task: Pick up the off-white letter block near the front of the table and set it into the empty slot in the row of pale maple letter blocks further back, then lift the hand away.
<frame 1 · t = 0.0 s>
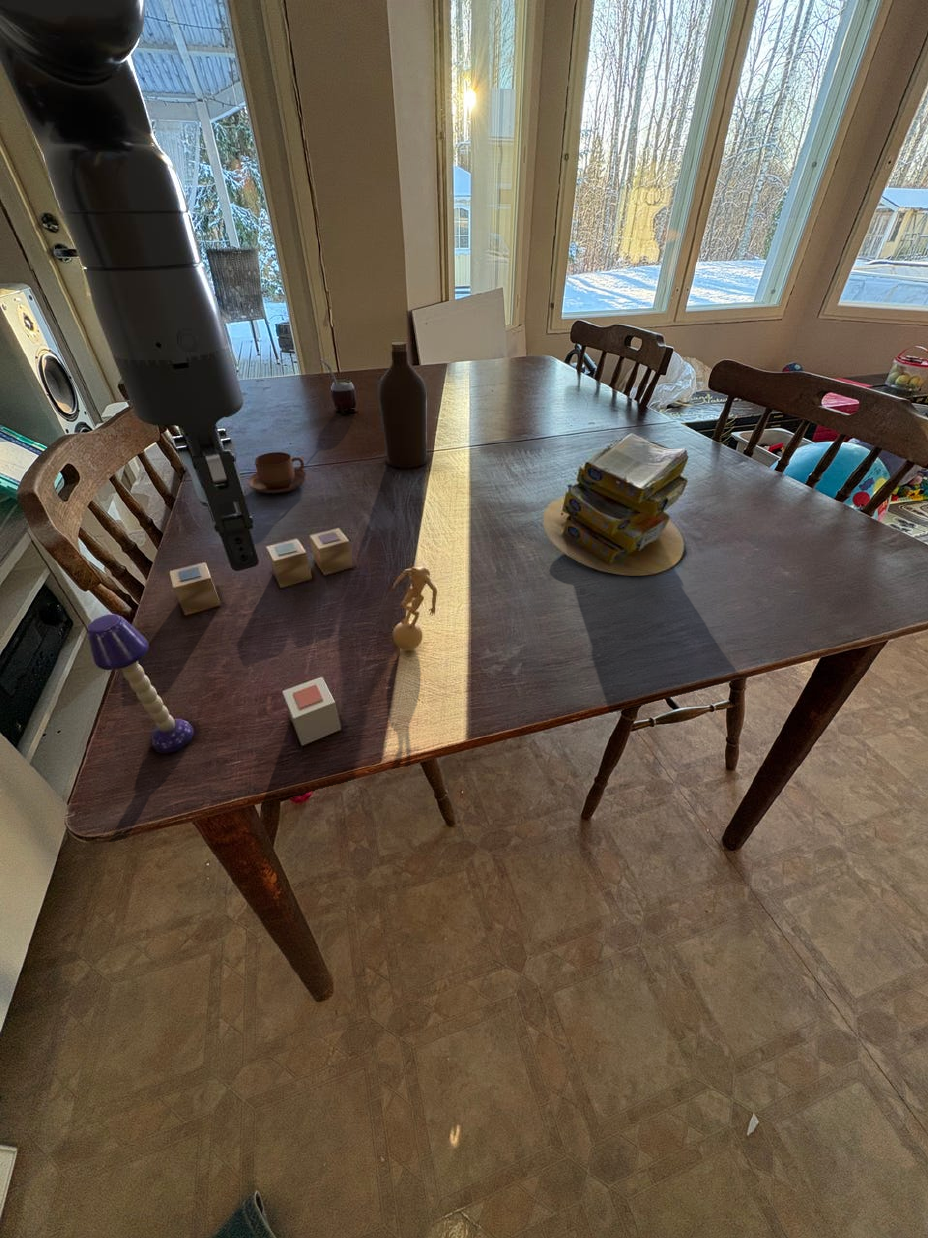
hand: (235, 544, 46), 23 cm above the table, tool pointing down, fingers open, 8 cm apart
mate gourd: (344, 412, 151), on the table
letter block: (315, 723, 59), on the table
toy lamp: (172, 738, 58), on the table
block row: (248, 588, 80), on the table
olive oil: (407, 461, 121), on the table
stacked food boxes: (610, 539, 92), on the table
cup and saucer: (279, 487, 110), on the table
figurine: (414, 644, 70), on the table
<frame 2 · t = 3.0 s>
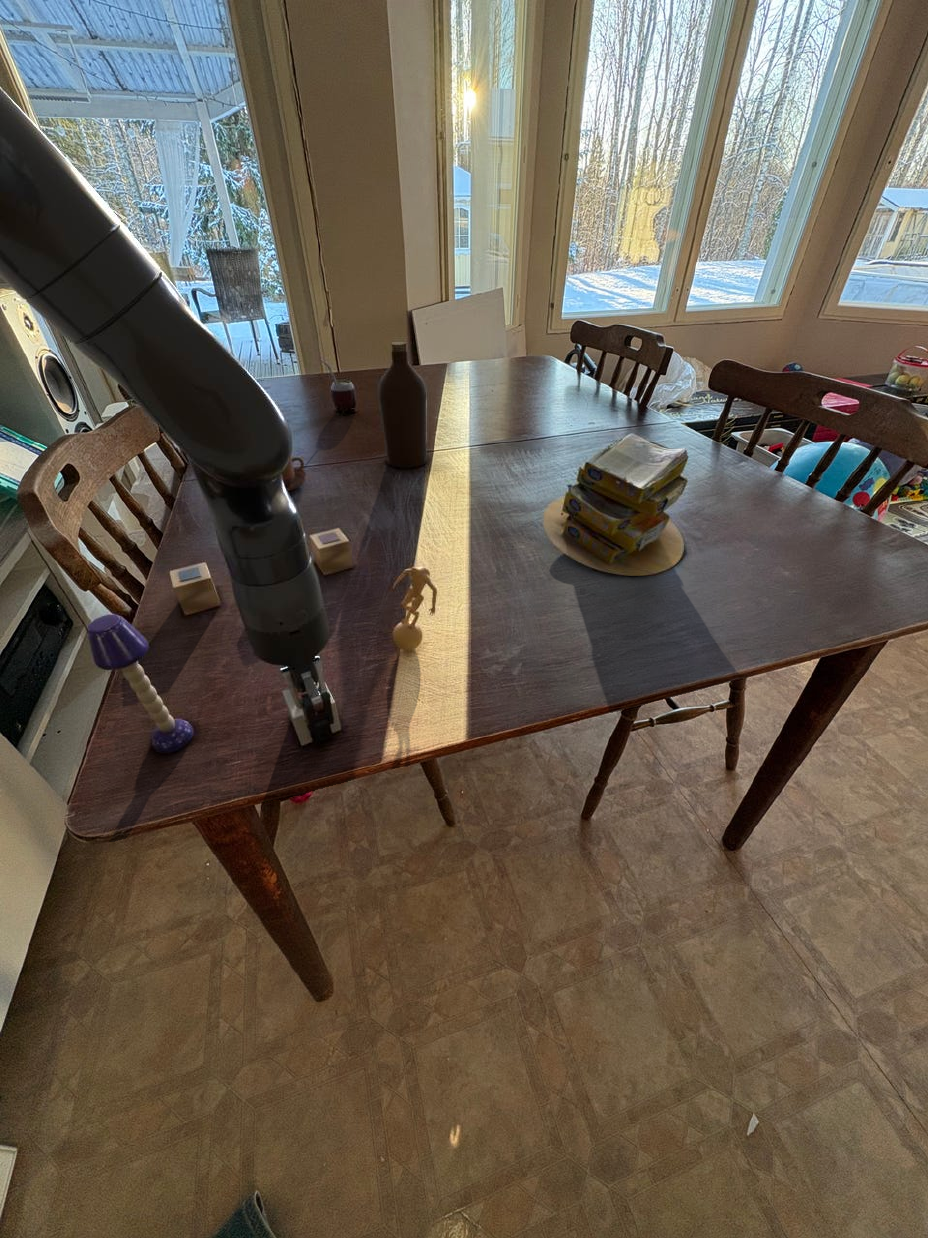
hand: (315, 722, 59), 0 cm above the table, tool pointing down, fingers closed on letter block, 4 cm apart
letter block: (315, 723, 59), on the table, touching gripper
everything else where it was.
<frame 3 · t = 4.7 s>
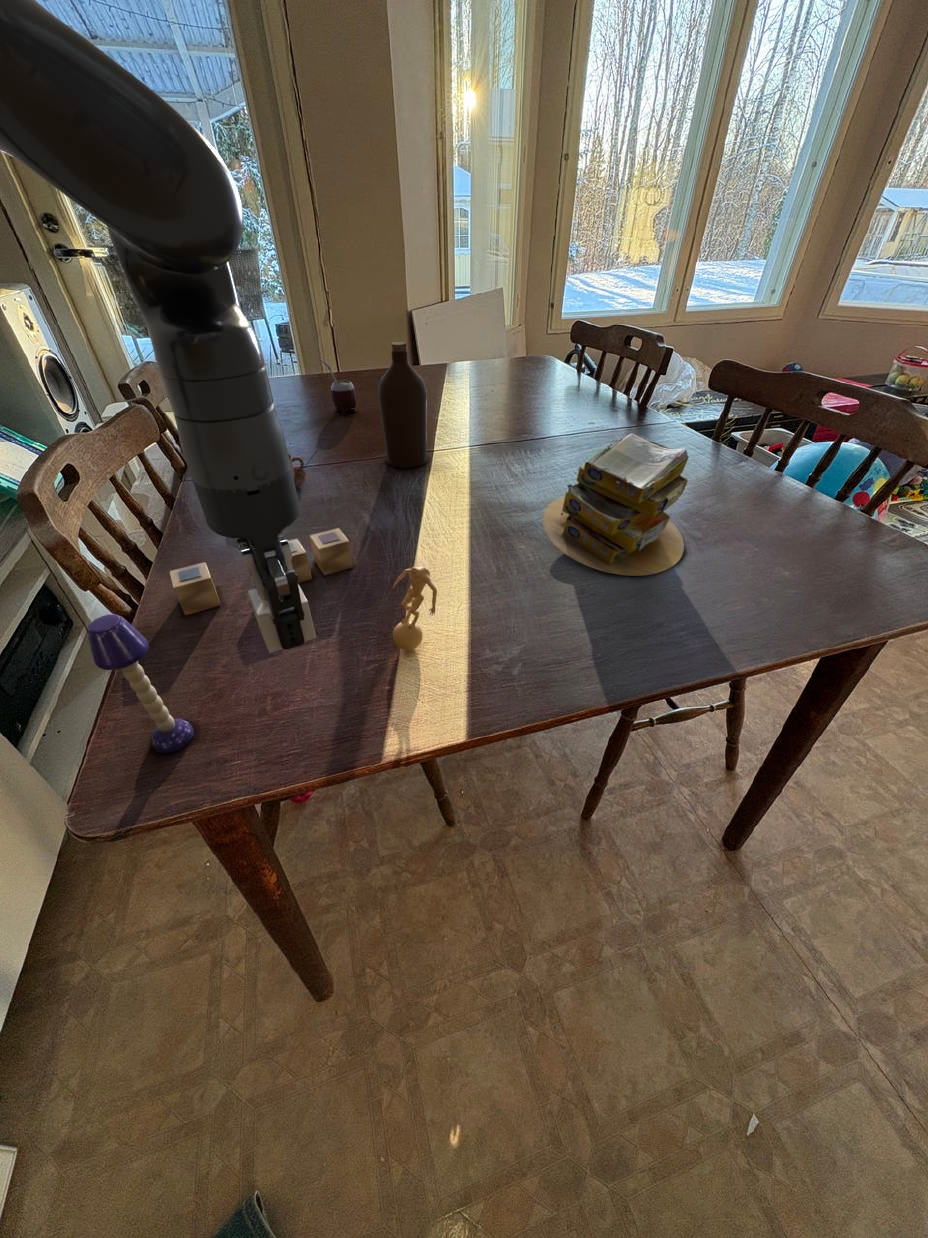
hand: (286, 629, 51), 13 cm above the table, tool pointing down, fingers closed on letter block, 4 cm apart
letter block: (287, 632, 52), point 13 cm above the table, touching gripper
everything else where it was.
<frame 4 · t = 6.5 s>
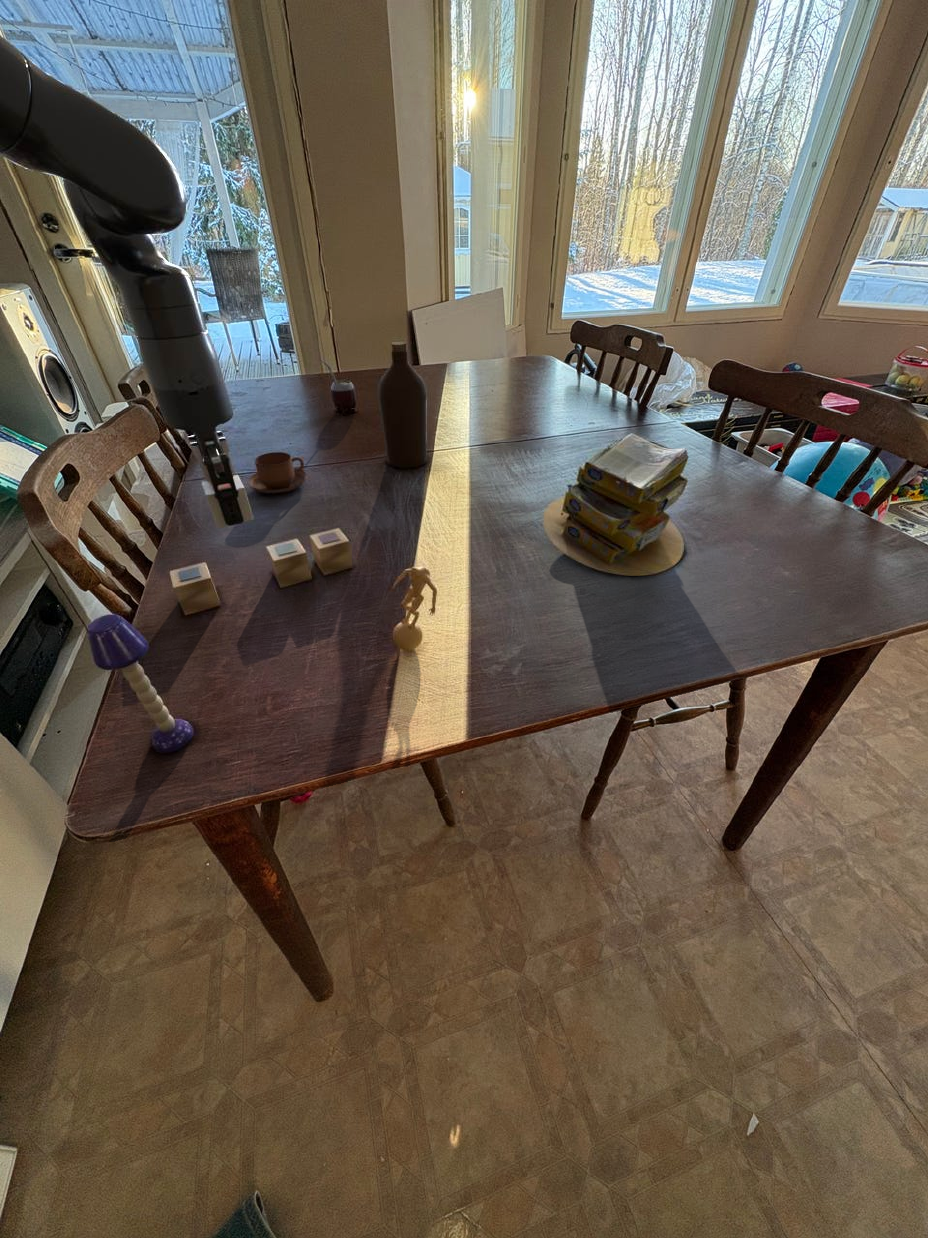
hand: (231, 514, 68), 15 cm above the table, tool pointing down, fingers closed on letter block, 4 cm apart
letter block: (232, 516, 68), point 14 cm above the table, touching gripper
everything else where it was.
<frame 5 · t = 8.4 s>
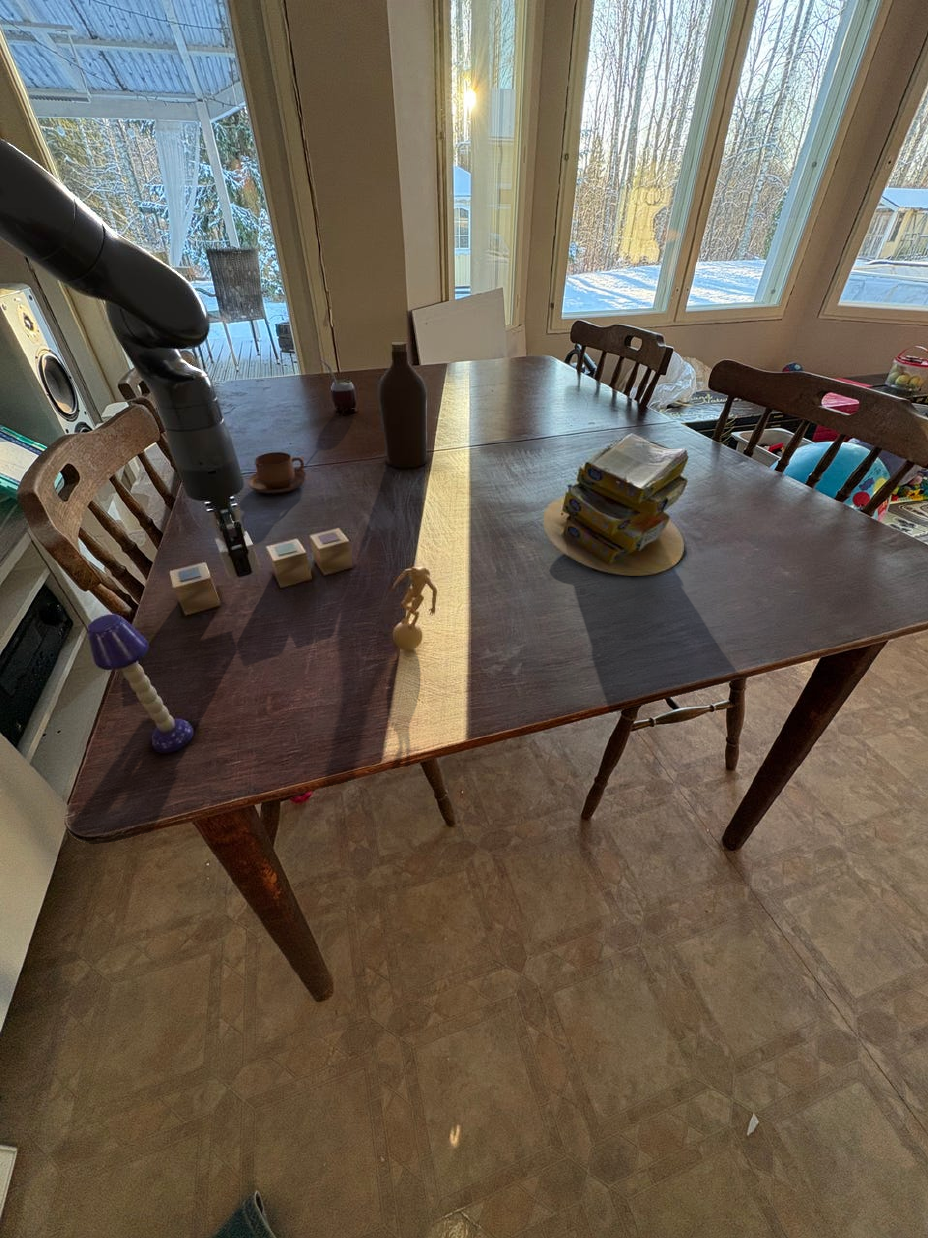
hand: (241, 566, 78), 4 cm above the table, tool pointing down, fingers closed on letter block, 4 cm apart
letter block: (242, 567, 78), point 4 cm above the table, touching gripper
everything else where it was.
when the fingers open (0 cm above the table, at t = 9.9 s): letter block stays where it is, on the table.
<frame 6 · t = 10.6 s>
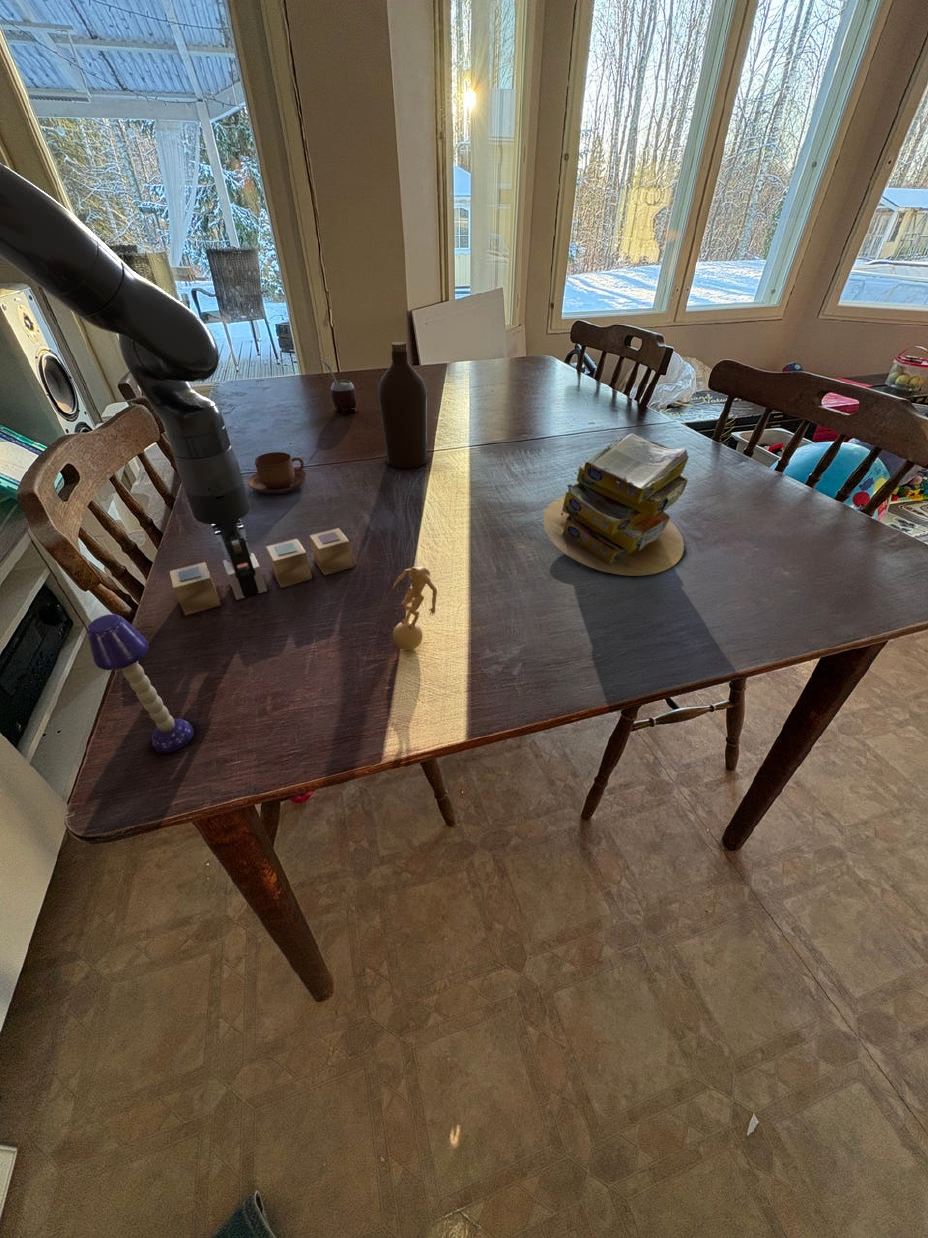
hand: (245, 580, 79), 1 cm above the table, tool pointing down, fingers open, 8 cm apart
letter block: (248, 588, 80), on the table
everything else where it was.
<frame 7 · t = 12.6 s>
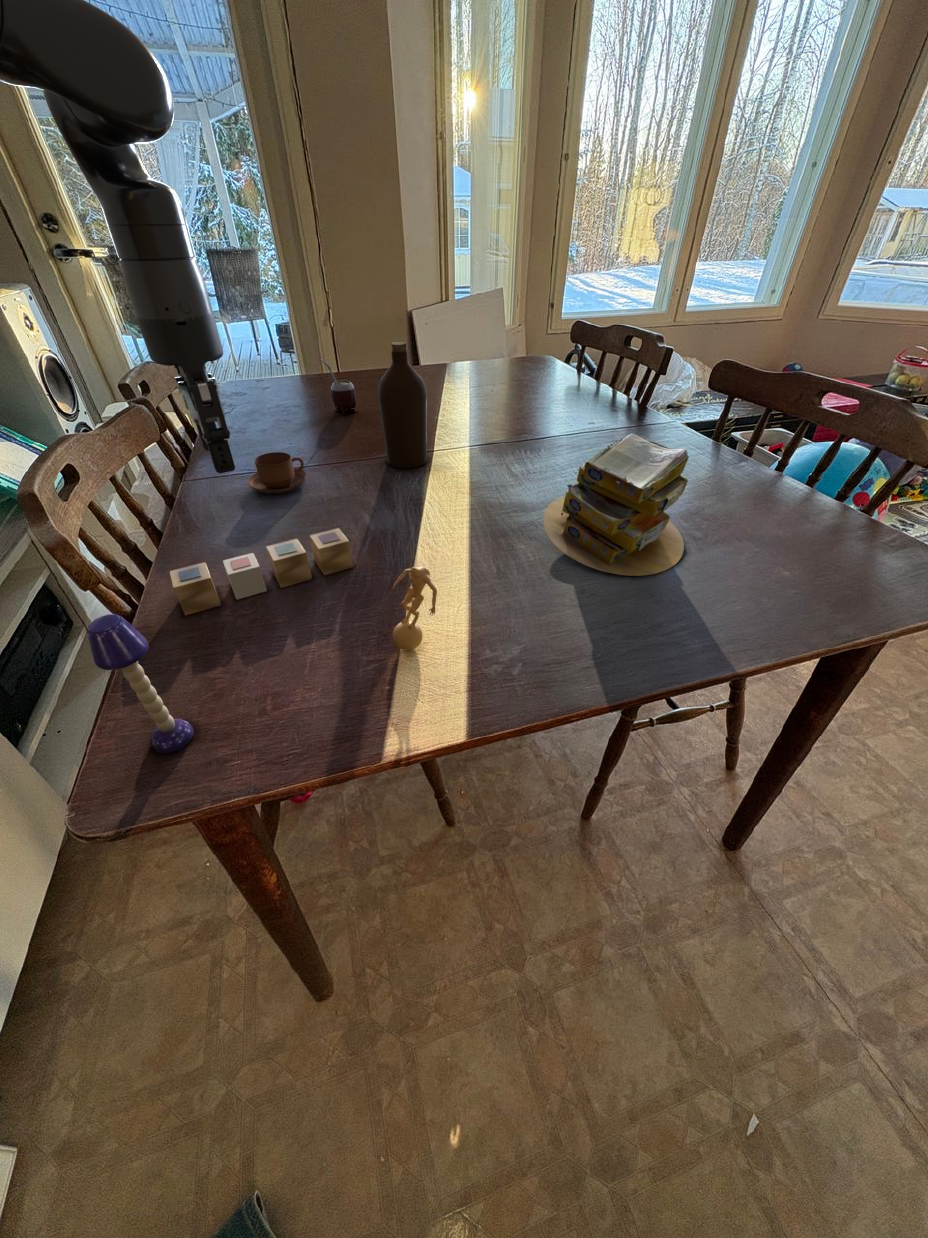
hand: (219, 459, 64), 22 cm above the table, tool pointing down, fingers open, 8 cm apart
nothing on the table moved.
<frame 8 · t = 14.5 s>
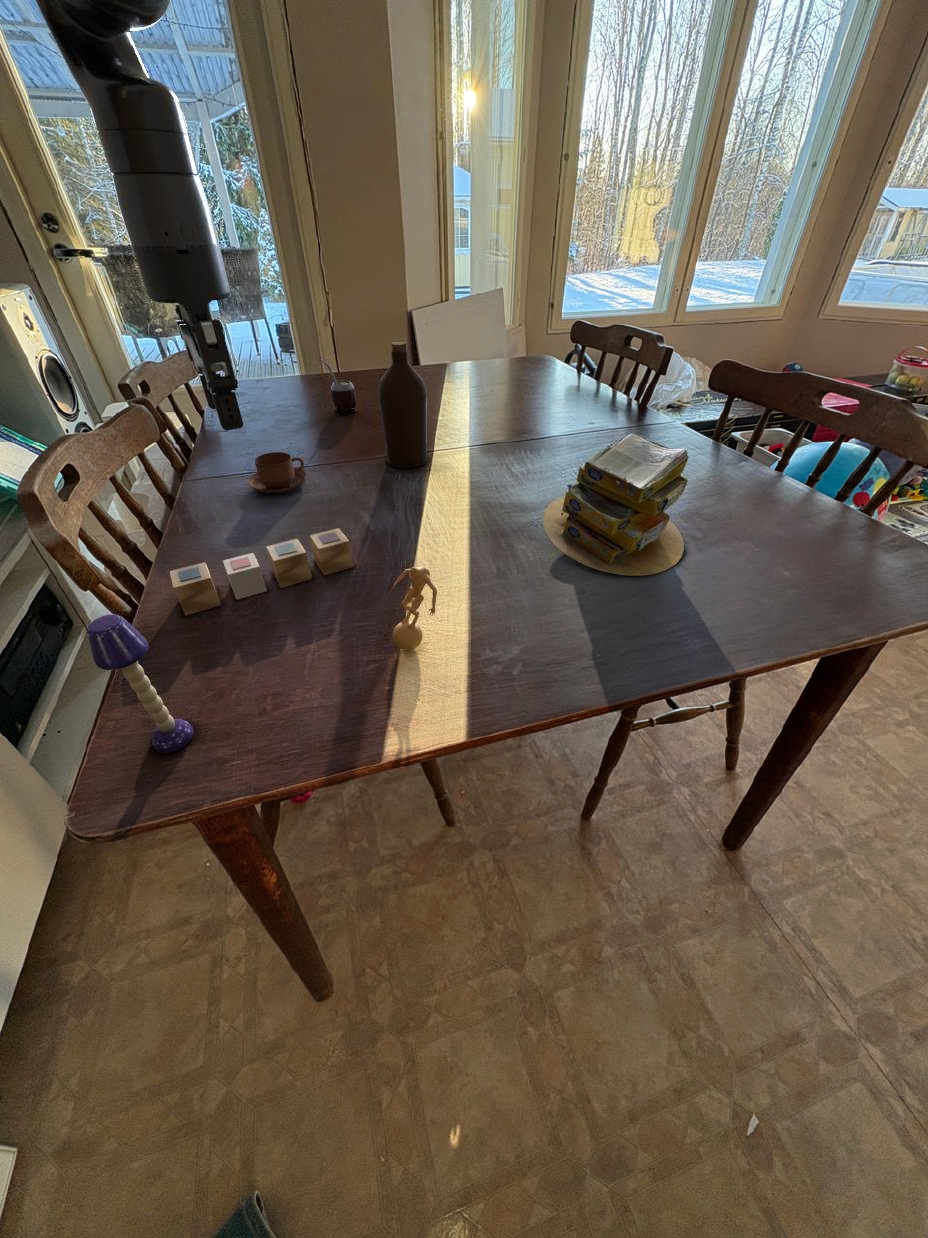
hand: (226, 417, 58), 28 cm above the table, tool pointing down, fingers open, 8 cm apart
nothing on the table moved.
at the end: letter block 0.1 cm off-centre on the block row, point 0.0 cm above the block row's base; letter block tilted 0°; the gripper is holding nothing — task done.
